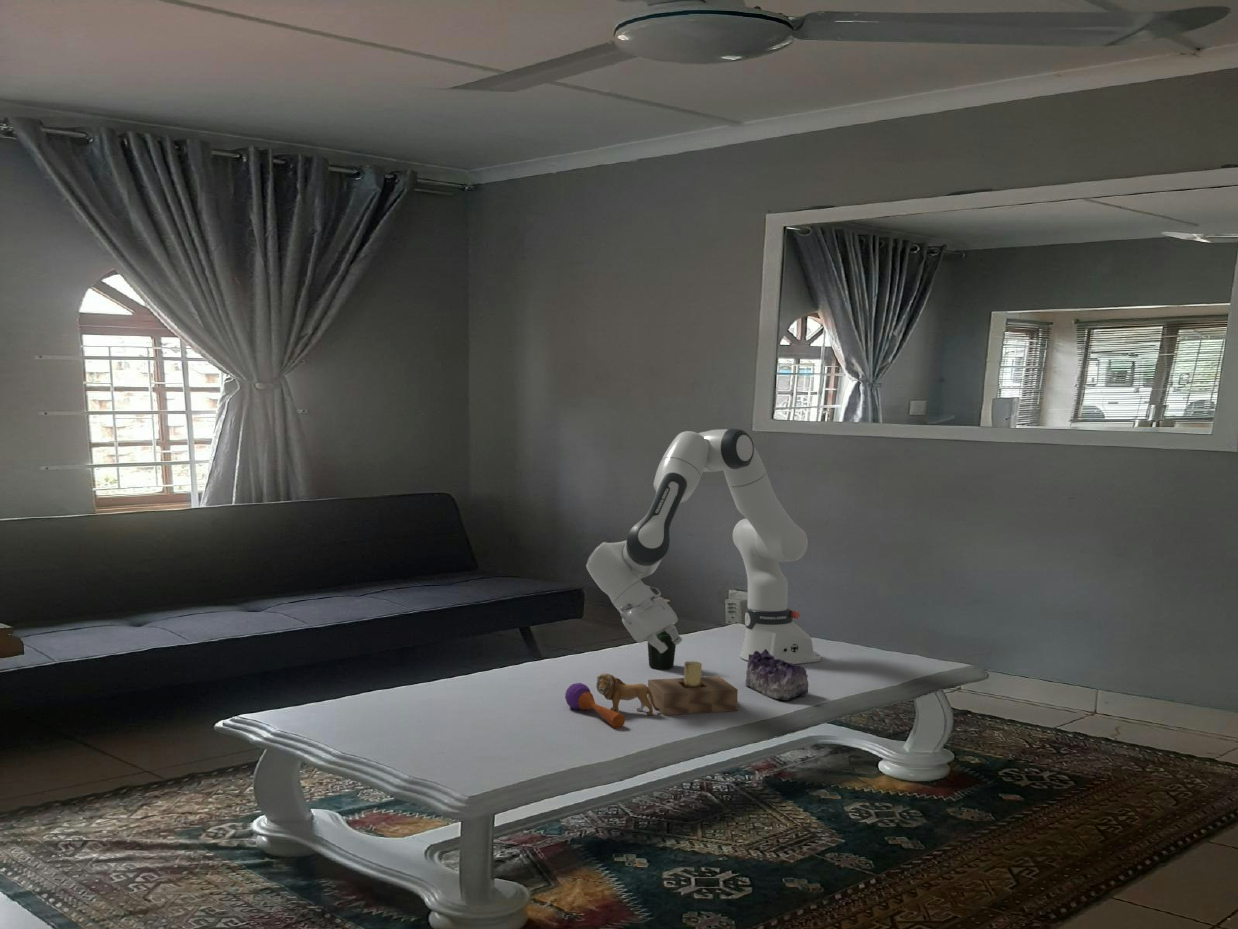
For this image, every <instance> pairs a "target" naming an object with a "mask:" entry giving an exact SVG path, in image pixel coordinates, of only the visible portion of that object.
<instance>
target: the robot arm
mask: <svg viewBox="0 0 1238 929" xmlns="http://www.w3.org/2000/svg"><path fill="white" fill-rule="evenodd" d="M721 471H723V473H724V478H725V481H726V483H727V486H728V488H729V491H730V494H731V497H732V500H733V502H734V505H735V507H736V509H737V511H738V512H739V513H740V515H742V516H743V517H744V518H743V519H741V520H739V521H738V522H737V523H736V524H735V526H734V528H733V530H732V542H733V544H734V546H735V548H737V549H738V552H739V553H740V555H741V557H742V560H743V564H744V568H745V572H746V581H747V603H746V604H747V606H746V607H745V615H744V625H745V634H744V638H743V643H742V648H741V652H740V653H739V657H740V658H741V659H743V660H745V661H748V659H749V654H751V655H753V654H754V652H755V651H758V652H759V653H762V652H763V651H764V650H765V649H766V650H767V651H768V652H769V654H770V655H772V656H774V659H775V660H776V659H780V660H784V661H785V662H787V663H793V664H794V665H799V664H806V663H807V664H808V663H818V662H821V661H822V656H821V655H820V654H819V653H818V652H816V651H814V645H813V641H812V638H811V636H810V635H809V634H808V633H807V632H806V631H805V630H804V629H803V628H802V627H800V626H799V625H797V624H796V623H795V622H793V619H795V620H798V619H799V618H800V615H801V614H800V613H799V611H796V610H791V609H789V608H788V595H789V594H788V593H789V590H788V588H789V587H788V586H789V583H788V579H787V577H786V576H785V574H783V571H782V570H781V568H780V565H779V562H780V563H786V562H787V563H788V562H796V561H798V560H800V559H802V558H803V557H804V555H805V554H806V552H807V549H808V544H809V541H808V540H809V539H808V536H807V533H806V532H805V530H803V529H802V528H801V527H800V526H799V525H798V524H797V523H796V522H795V521H794V520H793V519H792V518H791V517H790V515H789V514H788V512H787V511H786V510H785V508H784V507H783V505H782V504H781V502H780V501H779V499H778V497H777V495H776V494H775V491H774V488H773V486H772V484H771V480H770V478H769V475H768V472H767V470H766V467H765V465H764V462H763V461H762V458H761V456H760V454H759V452H758V451H757V448H756V447H755V445H754V442H753V440H752V438H751V436H750V435H749V434H748V433H747V432H746V431H745V430H743V429H740V428H729V429H725V428H722V429H711V430H707V431H700V432H696V431H691V430H686V431H682V432H679V433H678V434H677V435H676V436H675V438H674V439H673V440H672V442H671V443H670V444H669V446H668V448H667V449H666V451H665V453H664V454H663V456H662V458H661V460H660V462H659V464H658V467H657V469H656V471H655V477H654V480H653V489H654V490H655V495H654V497H653V499H652V502H651V504H650V506H649V508H648V510H647V512H646V514H645V515H644V517H643V518H642V519H640V520H639V521H638V522H637V523H636V524H634V525H633V526H632V528H631V529H630V530H629V532H628V535H627V536H626V540H623V541H618V542H617V541H616V542H606V541H603V542H601V543H599V544H597V545H596V547H595V548H594V549H593V550H592V551H590V552H591V553H590V554H589V555H588V557H587V559H586V564H585V567H586V570H587V571H588V573H589V575H590V576H591V578H592V579H593V581H594V582H595V583H596V585H597V586H598V587H599V589H600V590H601V591H602V592H603V593H605V594H606V595H607V596H608V597H609V599H610V601H611V603H612V605H613V606H614V607H615V608H616V609H617V611H618V612H619V613H620V617H621V622H622V624H623V625H624V627H625V628H626V630H627V632H628V633H629V634H630V635H631V637H632V639H634V641H635V642H636V643H638V644H642V643H644V642H645V641H647V644H648V643H649V644H651V645H652V646H654V647H655V648H657V650H658V651H659V652H660V653H663V652H665V651H666V650H667V649H668V647H667V646H666V644H665V643H664V642H663V643H662V642H661V641H660V640H659V639H658V638H657V636H656V635H657V634H659V633H661V632H663V631H666V632H667V633H668V634H669V635H670V636H671V638H672V642H673V643H674V644H675V645H676V646H677V645H679V644H680V643H682V642H683V638H682V637H681V636H680V634H679V632H678V630H677V627H676V626H675V624H676V623H677V622H678V620H679V619H678V616H677V614H676V612H675V611H674V610H673V608H672V607H671V606H670V604H669V605H668V603H667V602H666V601H665V600H664V599H665V598H664V597H662V596H661V595H662V593H661V591H660V590H659V589H658V588H657V587H654V586H653V587H652V586H649V585H647V584H644V582H643V581H642V579H645V578H647V577H649V576H651V575H652V574H654V573H655V571H656V570H657V568H658V567H659V565H660V563H661V562H662V560H663V558H664V557H665V556H666V555H667V553H668V550H669V547H670V527H671V525H672V522H673V519H674V517H675V515H676V513H677V511H678V509H679V505H680V504H681V503H684V502H687V501H688V500H689V499H690V497H691V496H692V495H693V493H694V492H695V490H696V488H697V486H698V484H699V483H700V480H701V478H702V476H703V473H716V472H721Z"/></svg>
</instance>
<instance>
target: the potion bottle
mask: <svg viewBox="0 0 1238 929" xmlns="http://www.w3.org/2000/svg"><path fill="white" fill-rule="evenodd" d="M663 599H664V600H665V601H666V602H667V603H668V605H669V606H670V603H671V600H670V599H665V598H663ZM656 636H657V638H658V639H659V640H660V641H661V642H662V643H663V642H664V643H665V644H666V646H667V647H668V649H667V650H666V651H665V652H663V653H660V652H659V651H658V650H657V648H655V647H654V646H652V645H651V644H649V643H648V642H647V652H648V653H647V655H648V666H649V667H650V668H651V669H654V670H661V671H663V670H666V671H667V670H670V669H673V667H674V664H675V654H676V646H677V645H675V644H674V643H673V642H672V638H671V636H670V635H669V634H668V633H667V632H666V631H663V632H661V633H659V634H657V635H656Z"/></svg>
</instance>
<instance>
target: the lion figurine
mask: <svg viewBox="0 0 1238 929" xmlns="http://www.w3.org/2000/svg"><path fill="white" fill-rule="evenodd" d="M596 678H597V679H596V690H597V692H598V693H599V694H601V695H602V696H604V698H605V700H608V701H611V702H612V707H610V708H609V710H612V711H614V712H617V713H619V703H620V701H621V700H622V701H632V700H635V699H636V698H637V699H638V700H639V702H640V706H639V707H637V708H636V711H637V712H642V711H643V709H644V708H645V707H646V708H647V709H648V711H647V712H646V715H647V716H652V715H653V712H654V710H655V711H657V712H659V711H660V709H658V708H657V707H655V705H654V700H653V696H652V693H651V691H650V689H649V688H648V685H646V684H643V683H636V684H626V683H625V682H624V681H622V680H621V679H620V678H618V677H616V676H614V675H613V674H610V673H601V674H599V675H598V676H597V677H596ZM648 693H649V696H650V699H651V702H652V704H651V703H650V702H649V701H648Z"/></svg>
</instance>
